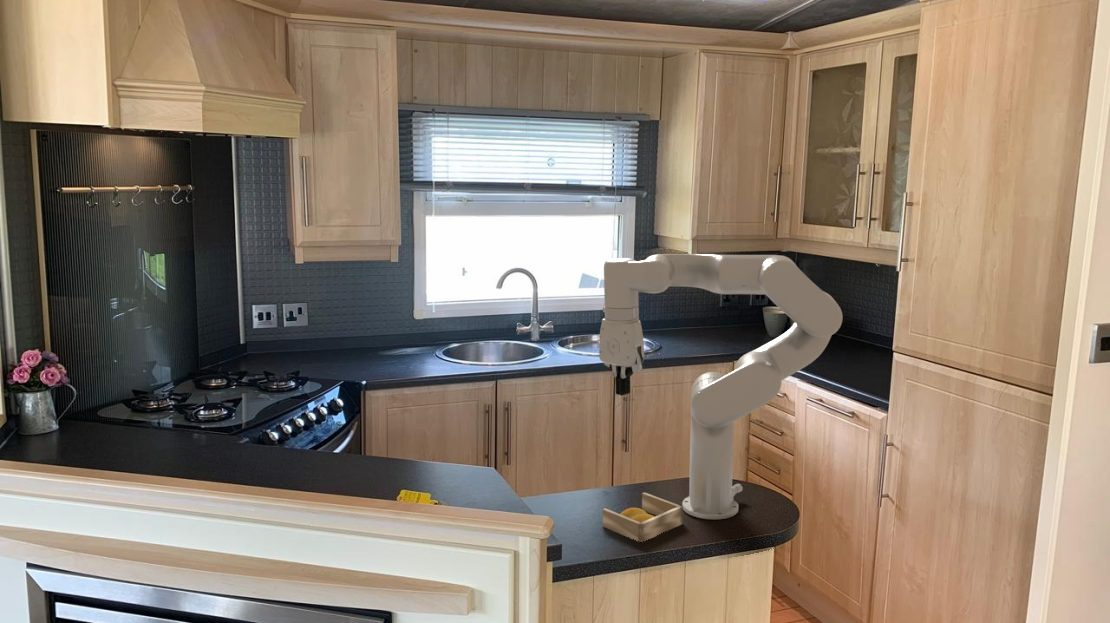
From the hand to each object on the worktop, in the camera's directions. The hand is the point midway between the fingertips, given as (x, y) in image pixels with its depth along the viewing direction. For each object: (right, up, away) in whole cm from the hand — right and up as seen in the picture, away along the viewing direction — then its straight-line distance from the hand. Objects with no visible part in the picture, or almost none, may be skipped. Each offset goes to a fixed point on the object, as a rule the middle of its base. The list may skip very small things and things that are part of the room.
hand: (623, 393), depth 196 cm
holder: (+4, -28, -7) cm, 29 cm away
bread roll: (+2, -29, -8) cm, 30 cm away
